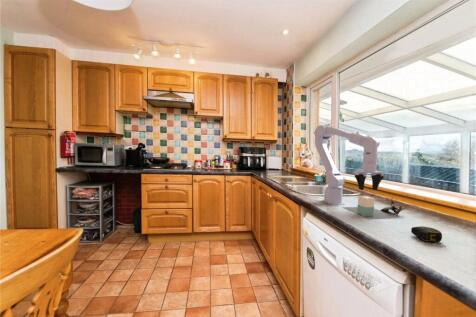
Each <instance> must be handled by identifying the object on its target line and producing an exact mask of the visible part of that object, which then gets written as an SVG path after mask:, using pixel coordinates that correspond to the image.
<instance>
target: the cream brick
mask: <svg viewBox="0 0 476 317" xmlns="http://www.w3.org/2000/svg"><path fill="white" fill-rule="evenodd" d="M357 197H358V198H357V199H358V200H357V206H358V205H360V206H363V207H374V208H375V200H376V198H375V197H372V196H369V195H368V196H367V195H358V196H357Z"/></svg>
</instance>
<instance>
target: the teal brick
mask: <svg viewBox="0 0 476 317" xmlns="http://www.w3.org/2000/svg"><path fill="white" fill-rule="evenodd" d="M356 207H357V213H358V214H357V215H359V214H360V215H359V216H361V215H363V216H373V213H374V209H375V206H374V207H363V206H360V205H358V204H357V206H356ZM363 216H362V217H363Z"/></svg>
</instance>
